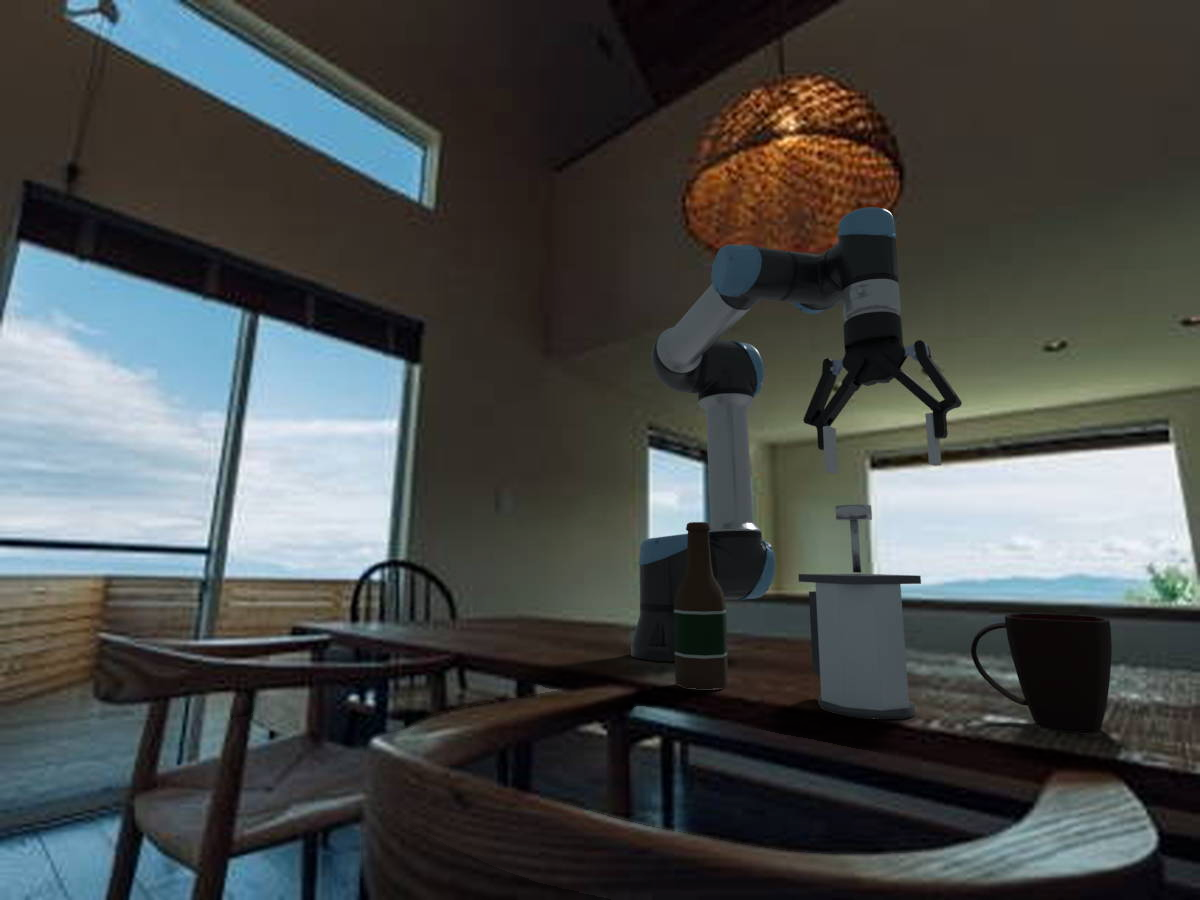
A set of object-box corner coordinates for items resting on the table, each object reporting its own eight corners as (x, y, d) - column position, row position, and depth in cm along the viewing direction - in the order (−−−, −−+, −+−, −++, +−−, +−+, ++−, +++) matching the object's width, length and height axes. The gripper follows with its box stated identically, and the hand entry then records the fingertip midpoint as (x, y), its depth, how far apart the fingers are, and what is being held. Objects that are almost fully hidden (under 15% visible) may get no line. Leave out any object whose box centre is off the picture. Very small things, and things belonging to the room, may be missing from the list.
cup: (1124, 744, 66) (1109, 623, 68) (969, 723, 74) (960, 615, 76) (1123, 725, 74) (1109, 616, 76) (983, 707, 82) (974, 610, 84)
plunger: (831, 572, 85) (828, 506, 87) (858, 572, 87) (854, 507, 88) (855, 572, 81) (851, 504, 83) (883, 572, 83) (878, 505, 84)
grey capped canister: (785, 698, 87) (780, 573, 90) (852, 692, 91) (845, 573, 94) (862, 723, 74) (853, 576, 77) (936, 715, 78) (925, 575, 81)
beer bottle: (696, 679, 101) (693, 524, 105) (739, 686, 95) (733, 522, 99) (664, 686, 95) (662, 522, 99) (707, 693, 90) (703, 520, 94)
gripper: (777, 331, 97) (782, 473, 93) (963, 286, 80) (977, 457, 77) (799, 343, 102) (805, 477, 99) (978, 304, 85) (992, 463, 82)
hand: (880, 469), depth 88 cm, fingers open, 13 cm apart
